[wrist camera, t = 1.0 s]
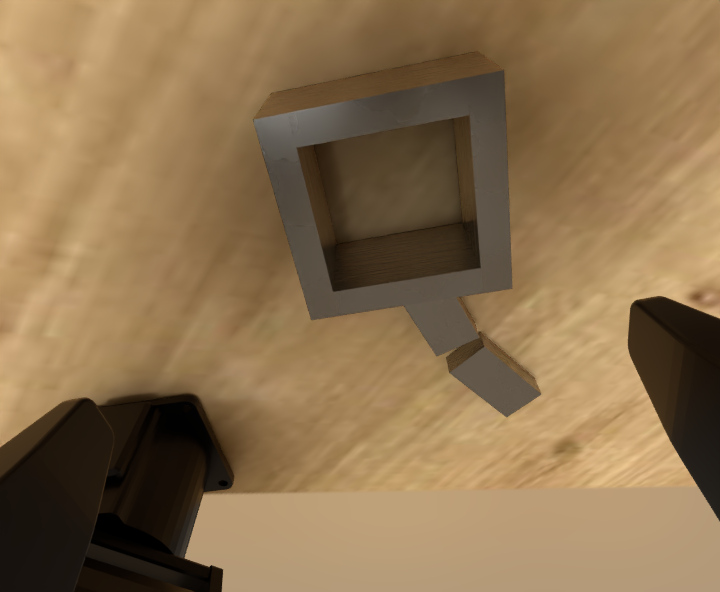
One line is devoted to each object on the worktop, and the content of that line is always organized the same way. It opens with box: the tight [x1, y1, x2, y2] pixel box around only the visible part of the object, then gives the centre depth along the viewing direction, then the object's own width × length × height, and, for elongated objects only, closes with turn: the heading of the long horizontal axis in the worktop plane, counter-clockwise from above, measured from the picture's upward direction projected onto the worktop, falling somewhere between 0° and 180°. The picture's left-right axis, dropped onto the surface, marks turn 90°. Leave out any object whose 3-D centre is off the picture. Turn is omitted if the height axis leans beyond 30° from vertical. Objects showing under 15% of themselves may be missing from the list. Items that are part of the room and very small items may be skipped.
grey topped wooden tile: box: [404, 297, 479, 356], centre depth 22 cm, size 4×2×1 cm, turn 30°
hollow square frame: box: [253, 52, 512, 320], centre depth 18 cm, size 7×7×4 cm
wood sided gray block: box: [446, 332, 541, 417], centre depth 24 cm, size 4×2×1 cm, turn 47°
